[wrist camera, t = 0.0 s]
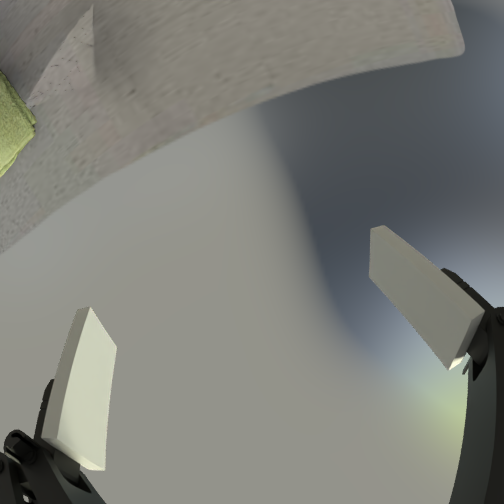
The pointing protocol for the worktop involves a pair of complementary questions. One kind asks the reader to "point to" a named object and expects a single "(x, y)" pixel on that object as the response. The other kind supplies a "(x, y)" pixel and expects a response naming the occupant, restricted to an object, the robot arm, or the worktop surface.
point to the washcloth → (13, 124)
